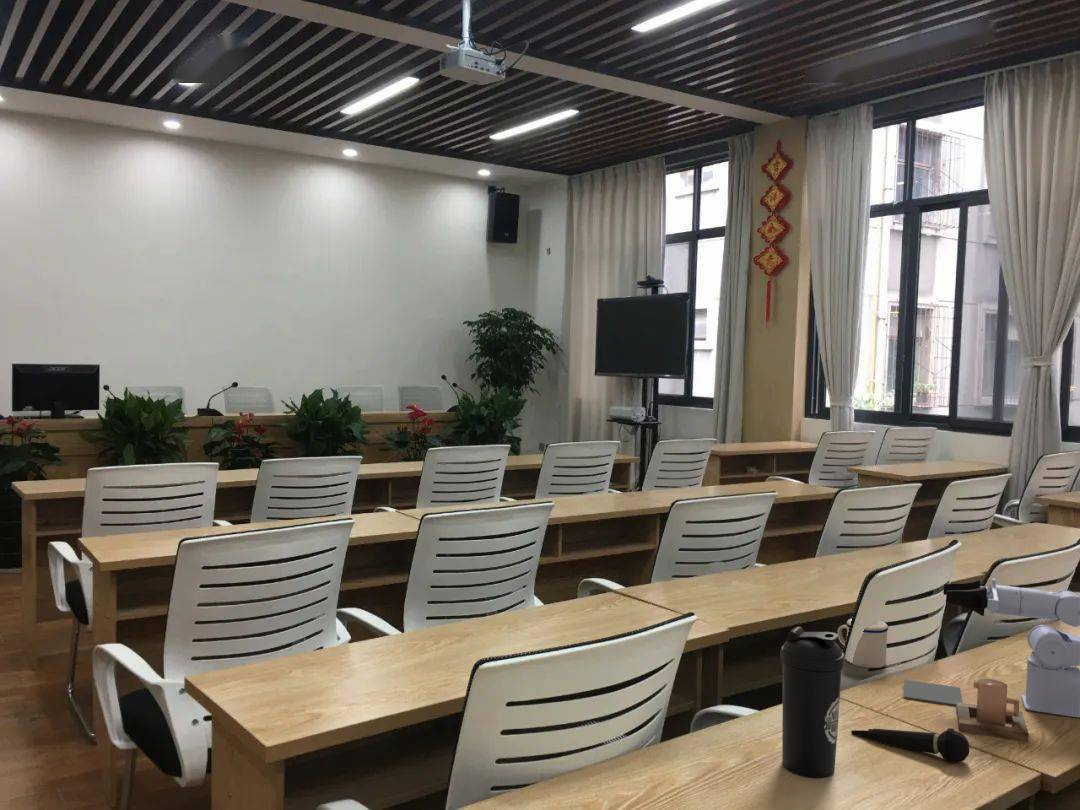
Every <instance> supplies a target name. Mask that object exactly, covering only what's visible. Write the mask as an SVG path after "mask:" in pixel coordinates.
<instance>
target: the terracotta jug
mask: <svg viewBox="0 0 1080 810" xmlns="http://www.w3.org/2000/svg"><path fill="white" fill-rule="evenodd" d="M972 685H973V688H974V689H977V695H976V698H977V701H976V705H977V715H976V716H975V718H976V720H975V721H976V722H983V723H989V724H995V725H1002V726H1007V725H1006V724H1007V722H1006V721H1007V720H1006V715H1009V716H1015V717H1019V711H1020V699H1017V698H1011V697H1010V698H1009V697H1008V684H1007V683H1005V682H1003V681H1000V680H996V679H992V678H991V679H990V678H980V679H978V680H973V684H972ZM1007 704H1010V705H1013V710H1014V711H1011V710H1012V709H1008V710H1006V709H1007Z"/></svg>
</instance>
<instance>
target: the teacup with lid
mask: <svg viewBox="0 0 1080 810" xmlns="http://www.w3.org/2000/svg"><path fill="white" fill-rule="evenodd" d="M851 621H852V617H851V618H849V619H848V620H847V621H846V623H845V624H842V625H840V626H839V627H838V628H837V634H838V640H839V642H840V643H841V644H842V646H844V647H846V646H845V642H847V640H845V638H844V636H843V630H844V629H846V637H847V636H848V632H849V628H850V625H851ZM880 621H881V620H880ZM880 621H876V622H874V623H872V624H871V625H869V626H868V627H866V628H865V629H864V631H863V632H864V633H863V634H862V637H861V638H860V640H859V642H858V644H857V647H856V650H855V653H854V657H853V662H852V664H851V665H853V666H856V667H860V668H865V669H879V668H883V667H885V666H886V664H887V643H888V641H887V640H888V630H889V626H888V624H887V623H886V622H884V621H882V622H880Z"/></svg>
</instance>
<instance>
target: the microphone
mask: <svg viewBox="0 0 1080 810" xmlns="http://www.w3.org/2000/svg"><path fill="white" fill-rule="evenodd" d="M850 731H851V732H850V733H851V734H852V735H854V736H857V737H858V736H859V737H862V738H867V739H868V740H869V739H871V741H873V742H875V741H876V742H877V743H880V742H881V743H880V744H884V743H885V744H884V745H888V744H889V745H888V746H892V745H893V746H894V747H897V746H898V748H904V749H907V750H913V751H916V750H917V751H918V752H923V753H928V754H932V755H937V754H940V756H941V757H942V758H943V759H944V760H946V762H947V763H949V764H954V763H959V762H964V761H965V760H966V759H967V758H968V756H969V754H970V742H969V740H968V739H967V738H966V736H965V735H964V734H963V733H961V732H959V731H956V730H955V729H954V728H949V727H948V728H947V729H946V730H944V731H942V732H941V733H940V734H938V733H937V732H927V731H926V732H925V731H923V732H922V731H914V730H911V731H910V730H898V729H885V728H868V729H867V730H864V729H862V730H860V729H859V730H850ZM893 746H892V747H893Z"/></svg>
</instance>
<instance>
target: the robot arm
mask: <svg viewBox="0 0 1080 810" xmlns="http://www.w3.org/2000/svg"><path fill="white" fill-rule="evenodd" d="M943 595H945V596H946V597H945V601H946V603H949V604H953V605H955V606H959V607H962V608H965V609H967V610H970V611H973V612H974V613H976V614H977V615H979V616H983V617H984V616H985V609H986V610H987V611H988V613H989V614H991V615H993V614H1000V615H1001V614H1002V615H1007V616H1014V617H1015V616H1016V617H1017V616H1018V617H1025V618H1031V619H1039V620H1054V621H1058V620H1060V621H1061V622H1062V623H1064V624H1065V625H1067V626H1070V627H1073V628H1074V627H1075V628H1076V627H1080V595H1078V594H1077V593H1075V592H1073V591H1071V590H1069V589H1060V590H1058V591H1050V590H1049V591H1048V590H1043V589H1036V588H1028V587H1021V586H1019V587H1018V586H1011V585H1010V586H1009V585H1003V584H1002V585H1001V584H997V580H996V578H995V577H994V578H991V580H990V583H989V584H988V586H982V585H981V579H980V578H977V579H973V580H970V581H964V582H954V583H953V582H951V583H944V584H943ZM1027 643H1028V646H1029V648H1030V649H1031V650H1032V651H1031V652H1030V655H1028V657H1027V661H1026V662H1027V663H1026V665H1027V666H1026V683H1025V684H1026V686H1025V687H1026V688H1025V694H1021V700H1022V703H1023V705H1024V708H1025V710H1026V711H1032V712H1037V713H1044V714H1050V715H1051V714H1052V715H1058V716H1063V717H1064V716H1065V717H1072V718H1078V719H1079V718H1080V668H1079V666H1080V636H1078V635H1076V634H1073V633H1071V632H1065V631H1061V630H1058V629H1057V628H1055V627H1053V626H1052V625H1051V626H1050V625H1048V624H1039V625H1036V626H1034V627H1033V628H1031V630H1030V631H1029V632H1028V634H1027Z"/></svg>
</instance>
